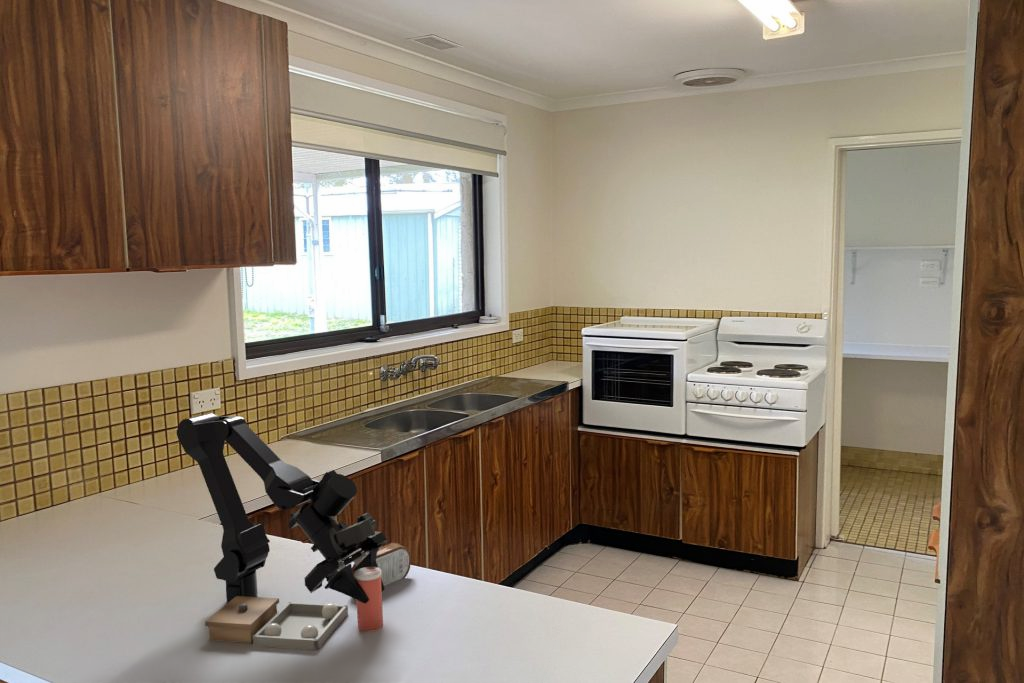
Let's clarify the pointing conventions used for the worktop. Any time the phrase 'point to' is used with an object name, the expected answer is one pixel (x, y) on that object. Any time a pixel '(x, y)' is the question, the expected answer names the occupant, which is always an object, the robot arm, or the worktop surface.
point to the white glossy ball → (309, 632)
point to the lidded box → (241, 618)
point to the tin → (392, 562)
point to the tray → (300, 626)
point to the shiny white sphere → (272, 630)
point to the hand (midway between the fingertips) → (375, 596)
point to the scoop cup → (370, 599)
